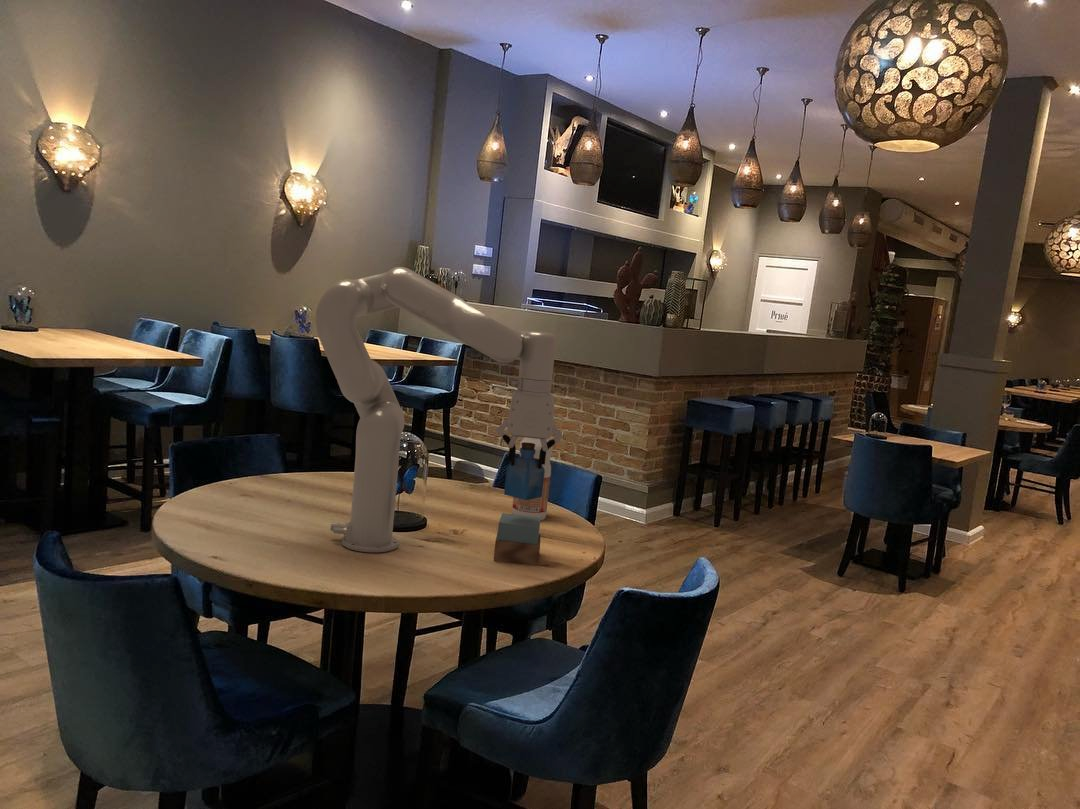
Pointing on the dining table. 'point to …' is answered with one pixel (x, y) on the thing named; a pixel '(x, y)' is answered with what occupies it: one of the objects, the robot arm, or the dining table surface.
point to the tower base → (517, 552)
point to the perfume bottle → (525, 475)
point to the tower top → (518, 528)
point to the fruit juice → (539, 505)
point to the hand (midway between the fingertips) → (526, 465)
